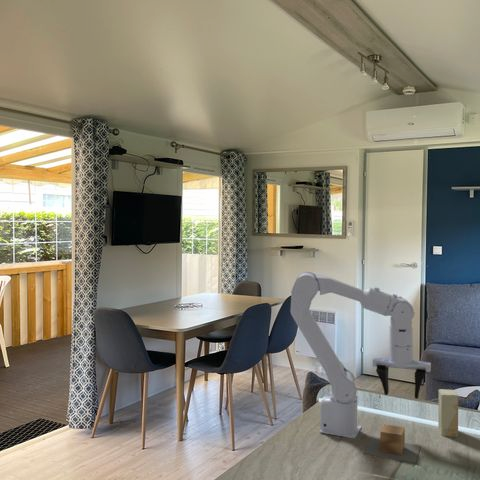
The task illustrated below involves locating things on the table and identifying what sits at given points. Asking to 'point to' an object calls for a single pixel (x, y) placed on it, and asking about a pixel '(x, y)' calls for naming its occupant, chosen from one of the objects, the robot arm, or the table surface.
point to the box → (448, 413)
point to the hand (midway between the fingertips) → (401, 395)
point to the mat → (408, 454)
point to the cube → (392, 439)
